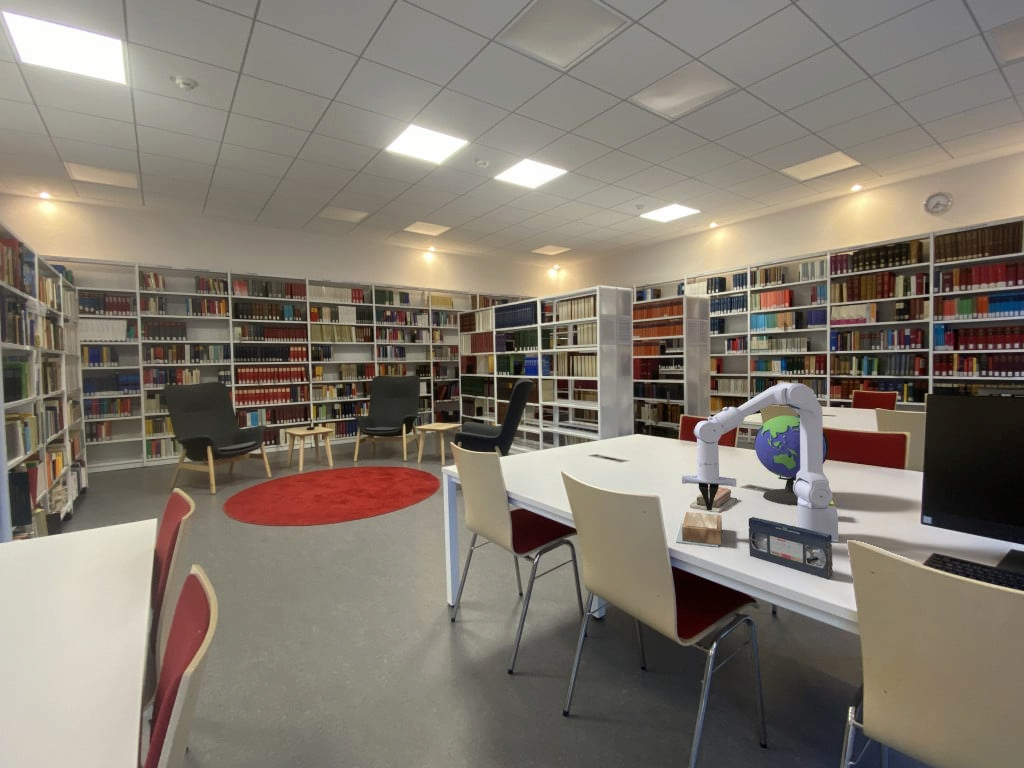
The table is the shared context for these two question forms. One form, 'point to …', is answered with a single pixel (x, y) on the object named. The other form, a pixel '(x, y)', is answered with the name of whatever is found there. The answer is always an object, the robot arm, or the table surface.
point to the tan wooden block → (702, 528)
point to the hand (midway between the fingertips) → (709, 509)
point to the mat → (679, 540)
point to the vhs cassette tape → (791, 547)
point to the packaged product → (715, 501)
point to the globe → (782, 454)
